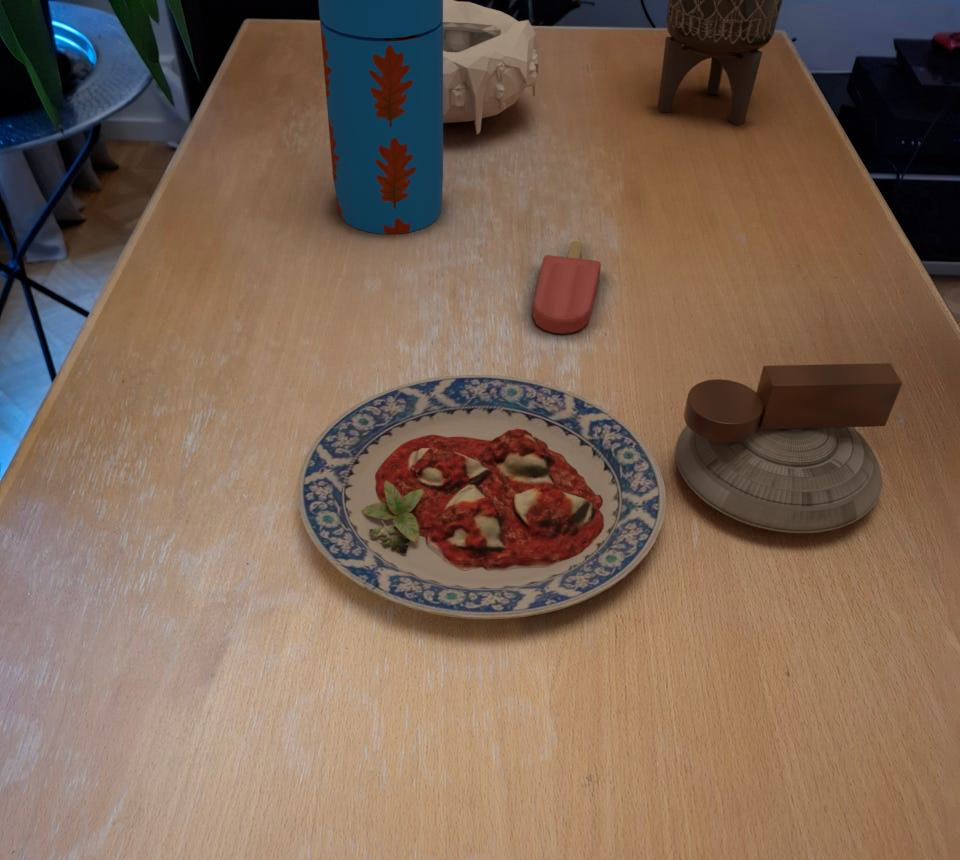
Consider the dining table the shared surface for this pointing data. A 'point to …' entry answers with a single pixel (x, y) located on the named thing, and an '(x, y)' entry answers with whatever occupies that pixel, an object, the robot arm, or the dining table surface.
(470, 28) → the bowl
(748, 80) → the planter
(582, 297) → the popsicle
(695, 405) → the brown cylinder and block
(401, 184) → the thermos
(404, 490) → the ceramic plate
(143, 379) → the dining table surface
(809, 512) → the flying saucer
